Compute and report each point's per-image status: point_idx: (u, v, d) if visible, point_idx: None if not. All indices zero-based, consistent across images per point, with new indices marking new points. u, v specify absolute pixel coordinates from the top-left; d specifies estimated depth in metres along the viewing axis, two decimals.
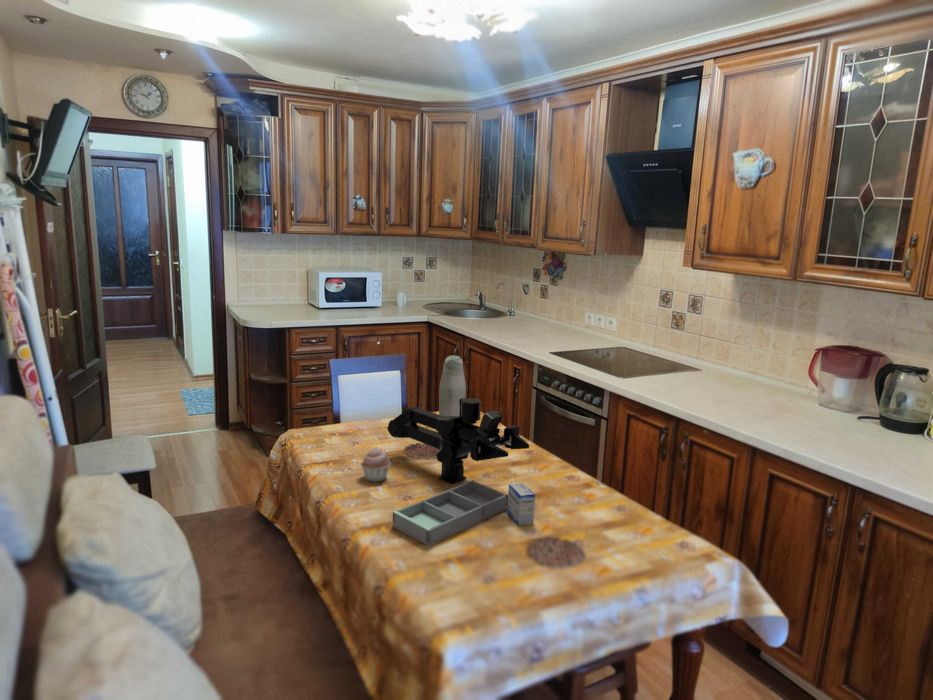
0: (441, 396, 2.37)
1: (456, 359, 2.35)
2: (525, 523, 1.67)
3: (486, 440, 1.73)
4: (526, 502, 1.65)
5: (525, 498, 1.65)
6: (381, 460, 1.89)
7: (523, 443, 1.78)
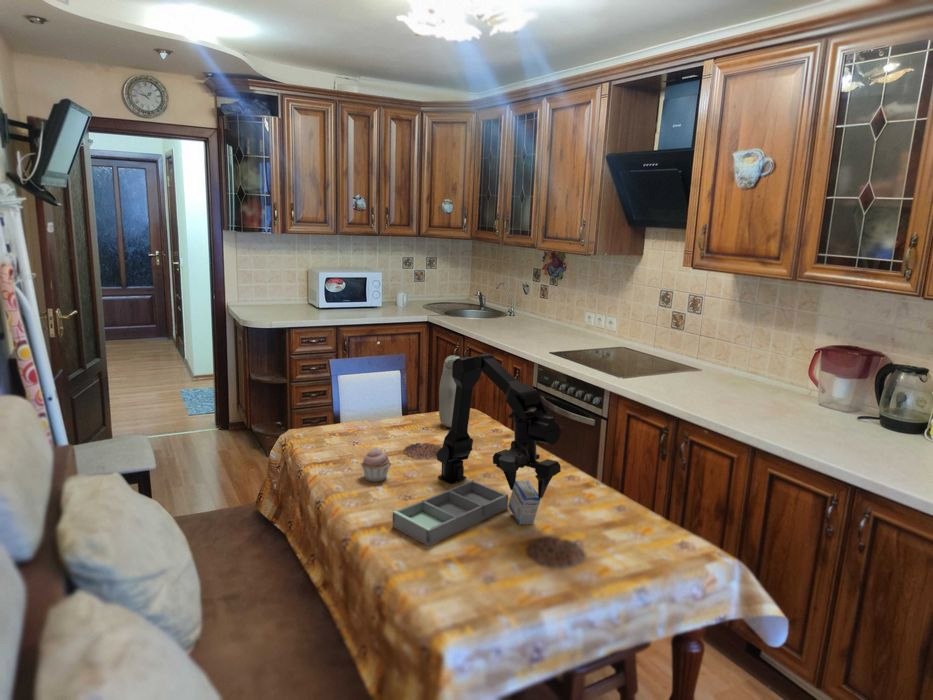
0: (441, 396, 2.37)
1: None
2: (525, 523, 1.66)
3: (500, 468, 1.69)
4: (531, 504, 1.64)
5: (530, 501, 1.64)
6: (381, 460, 1.89)
7: None
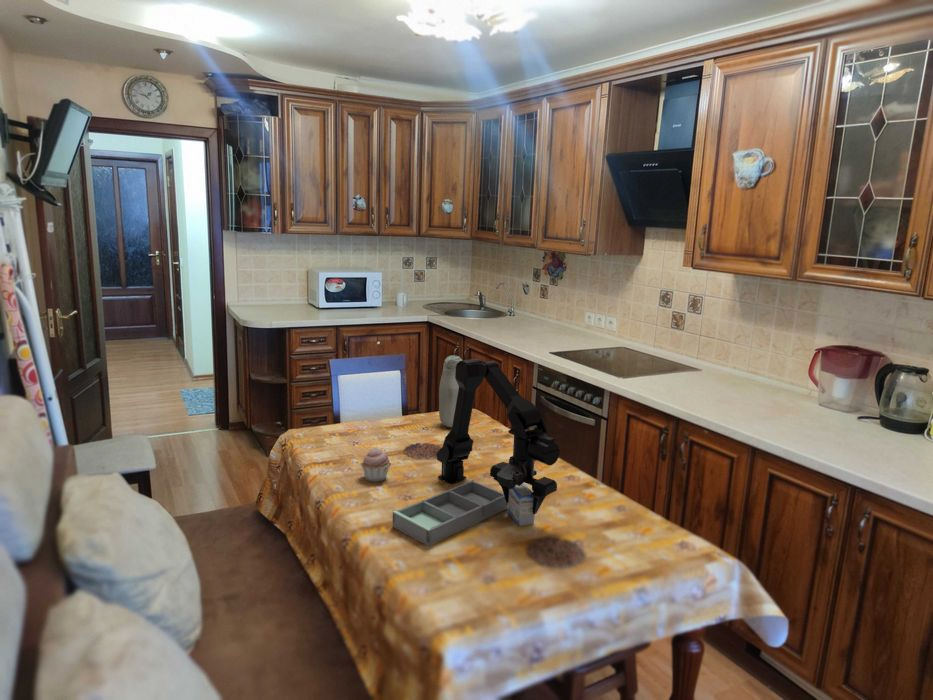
0: (441, 396, 2.37)
1: (456, 359, 2.35)
2: (525, 523, 1.66)
3: (498, 481, 1.70)
4: (527, 502, 1.65)
5: (526, 499, 1.65)
6: (381, 460, 1.89)
7: None
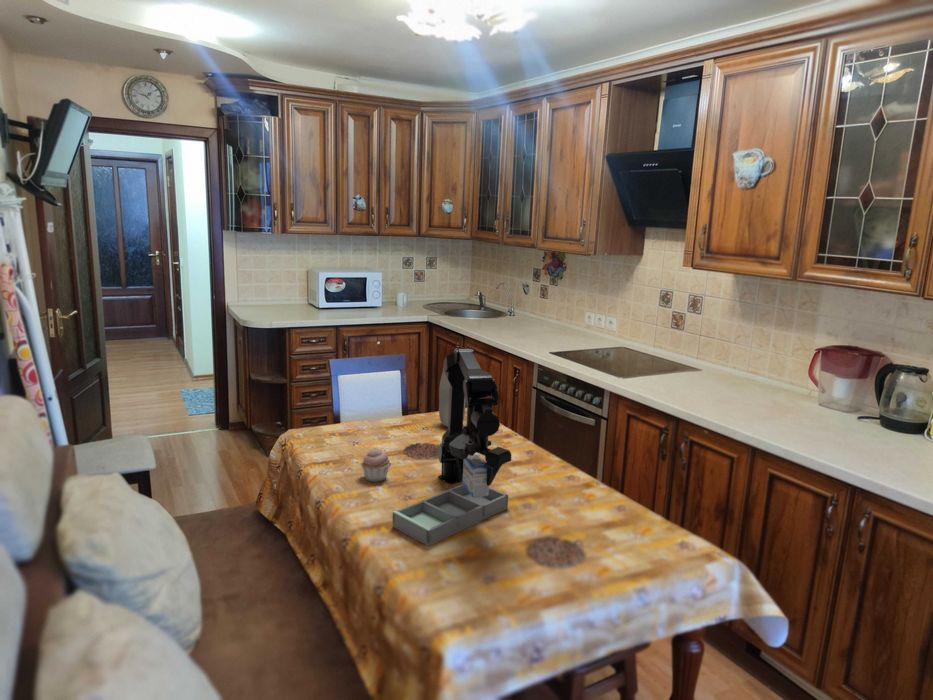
0: (441, 396, 2.37)
1: None
2: (480, 495, 1.61)
3: None
4: (481, 473, 1.59)
5: (479, 469, 1.59)
6: (381, 460, 1.89)
7: None
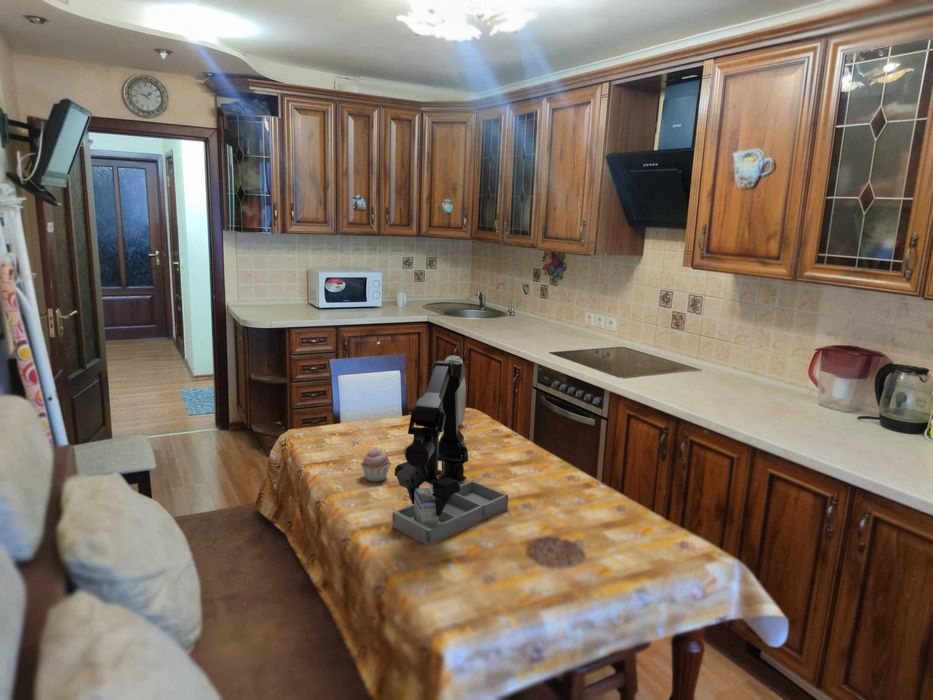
0: None
1: (456, 359, 2.35)
2: None
3: None
4: (429, 507, 1.57)
5: (428, 504, 1.57)
6: (381, 460, 1.89)
7: None
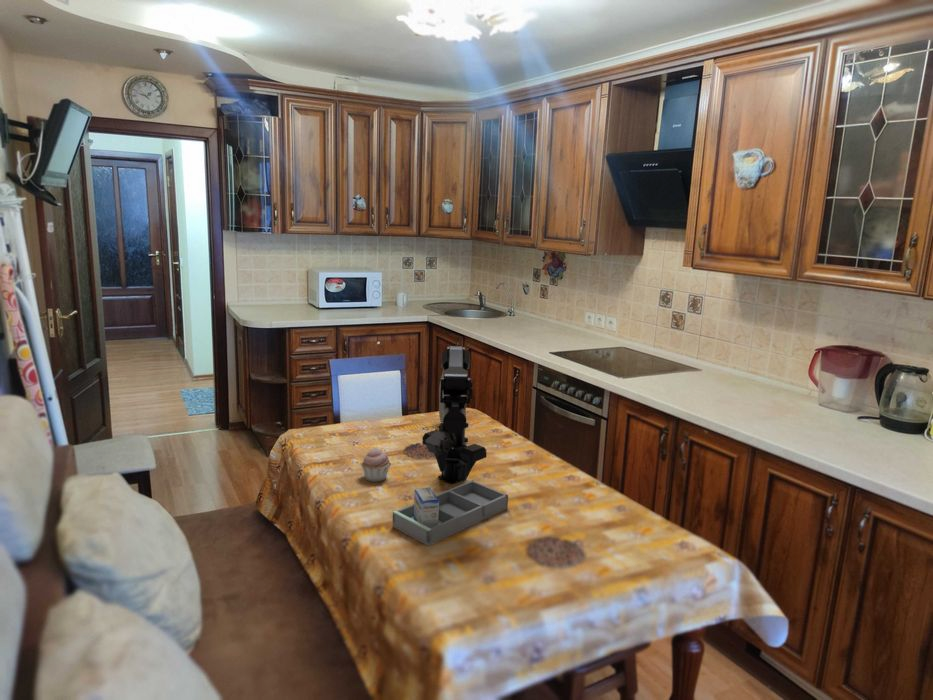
0: None
1: None
2: None
3: None
4: (429, 507, 1.57)
5: (428, 504, 1.57)
6: (381, 460, 1.89)
7: None
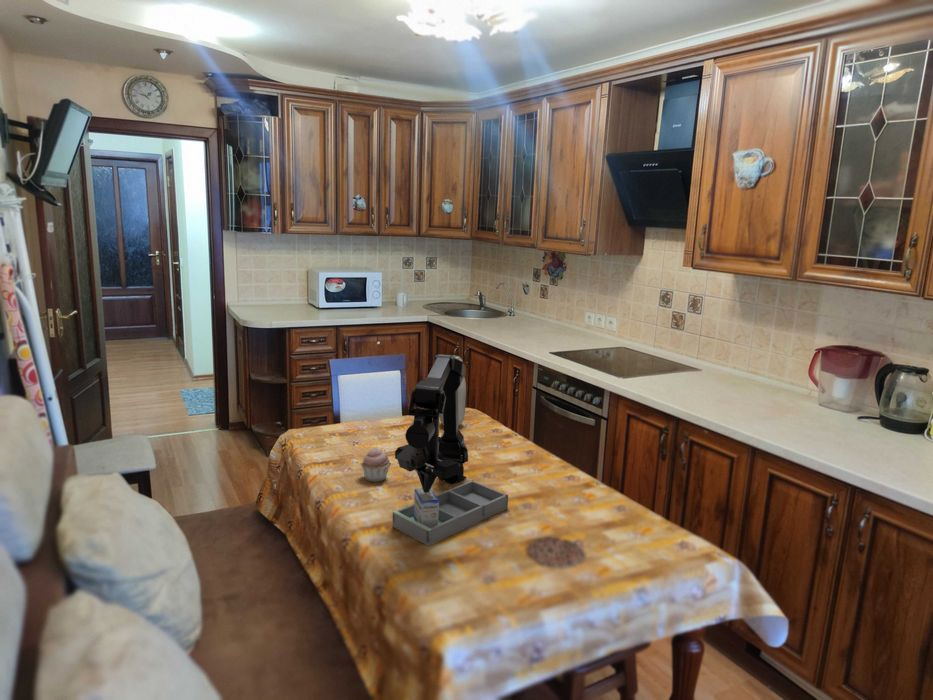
0: None
1: None
2: None
3: (414, 469, 1.59)
4: (429, 507, 1.57)
5: (428, 504, 1.57)
6: (381, 460, 1.89)
7: None
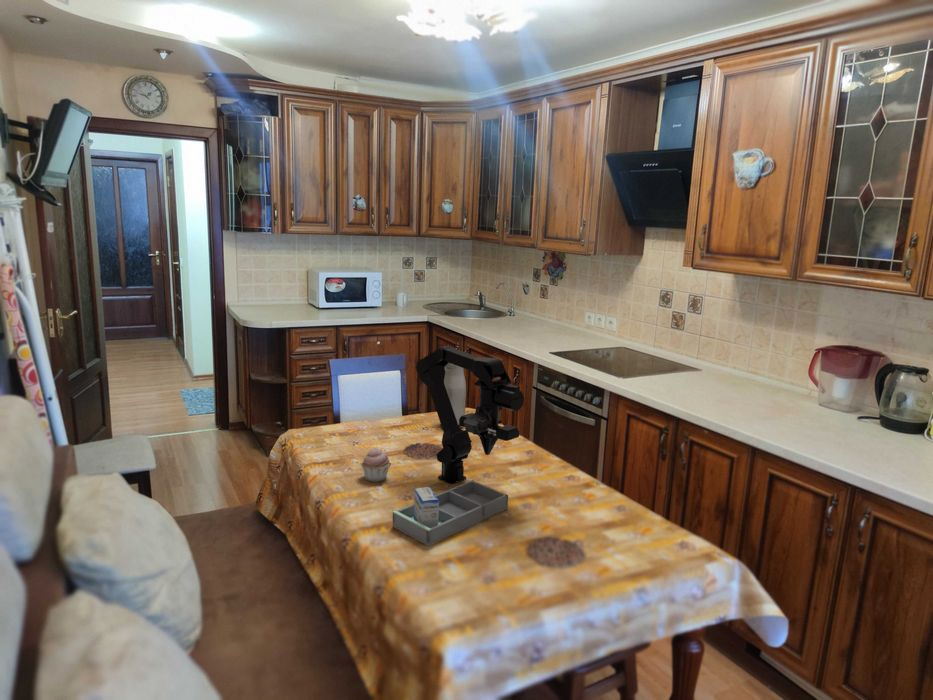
0: None
1: None
2: None
3: (477, 433, 1.81)
4: (429, 507, 1.57)
5: (428, 504, 1.57)
6: (381, 460, 1.89)
7: None
